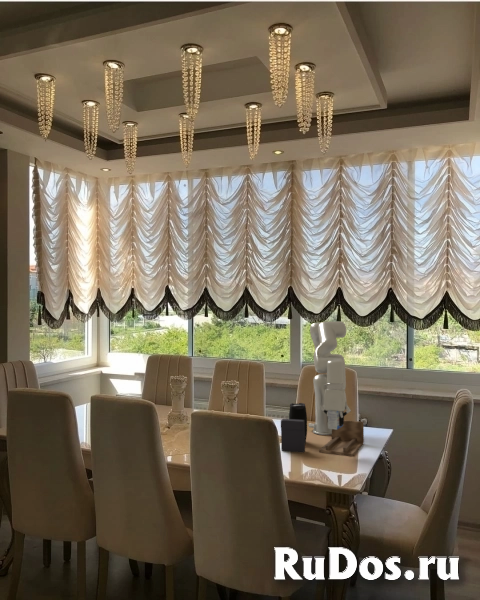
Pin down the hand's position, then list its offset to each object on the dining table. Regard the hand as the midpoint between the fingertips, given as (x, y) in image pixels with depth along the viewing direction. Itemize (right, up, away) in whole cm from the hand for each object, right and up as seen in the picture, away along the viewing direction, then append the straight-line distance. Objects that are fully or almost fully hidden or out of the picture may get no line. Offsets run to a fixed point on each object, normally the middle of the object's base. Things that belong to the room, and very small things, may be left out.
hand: (335, 424), depth 251 cm
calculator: (-20, -14, +5) cm, 25 cm away
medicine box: (0, -2, 0) cm, 2 cm away
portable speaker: (-16, -14, +20) cm, 29 cm away
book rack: (+5, -13, +8) cm, 17 cm away
